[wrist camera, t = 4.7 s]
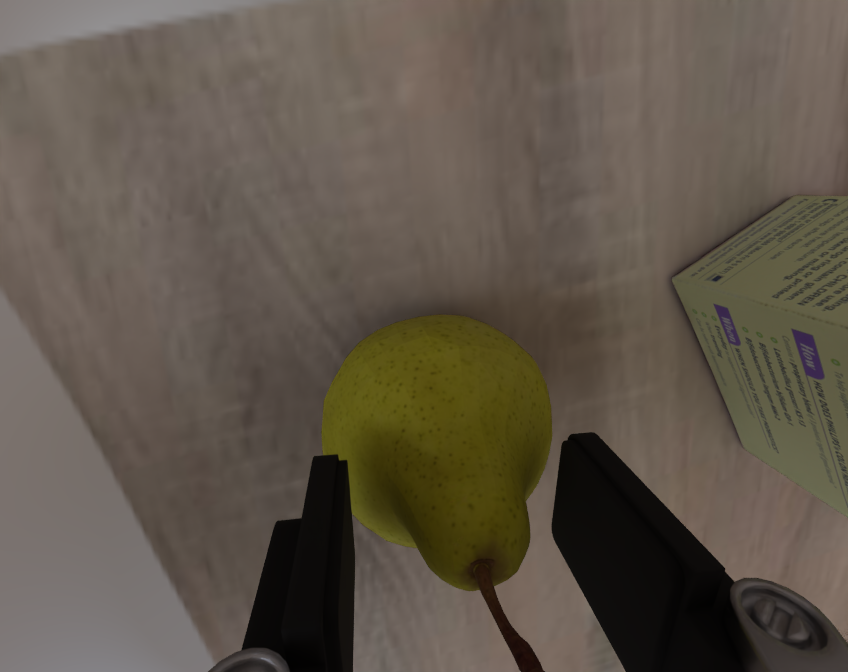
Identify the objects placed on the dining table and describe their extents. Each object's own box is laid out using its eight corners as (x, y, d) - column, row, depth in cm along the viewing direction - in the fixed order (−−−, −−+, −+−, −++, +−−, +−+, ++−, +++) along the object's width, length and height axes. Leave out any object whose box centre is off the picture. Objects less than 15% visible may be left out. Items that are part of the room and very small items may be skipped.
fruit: (492, 451, 18) (709, 891, 7) (330, 453, 17) (265, 982, 6) (516, 295, 16) (904, 564, 4) (332, 286, 15) (227, 612, 3)
